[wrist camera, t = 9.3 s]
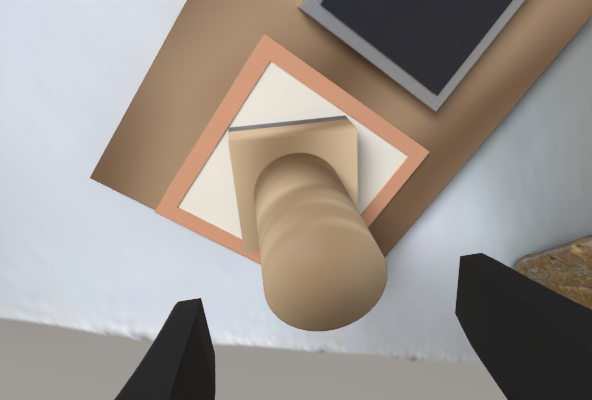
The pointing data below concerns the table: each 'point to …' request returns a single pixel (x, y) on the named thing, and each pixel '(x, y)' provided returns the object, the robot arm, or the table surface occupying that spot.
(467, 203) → the table surface
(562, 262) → the fossil
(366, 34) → the ink pad
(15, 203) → the table surface
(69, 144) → the table surface
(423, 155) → the square coaster
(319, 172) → the stamp
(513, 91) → the board
